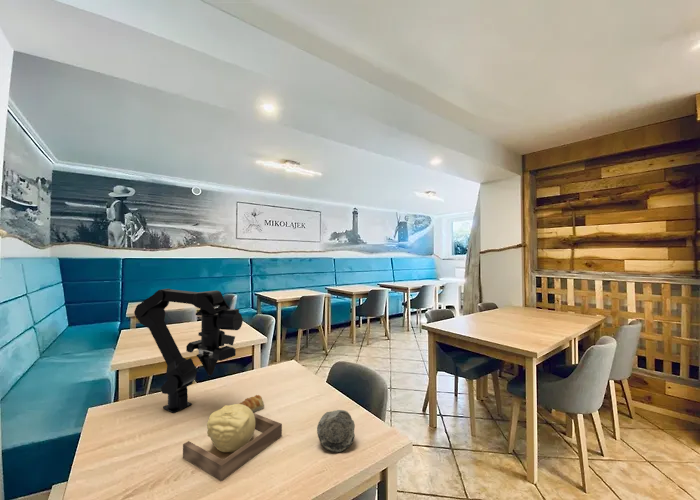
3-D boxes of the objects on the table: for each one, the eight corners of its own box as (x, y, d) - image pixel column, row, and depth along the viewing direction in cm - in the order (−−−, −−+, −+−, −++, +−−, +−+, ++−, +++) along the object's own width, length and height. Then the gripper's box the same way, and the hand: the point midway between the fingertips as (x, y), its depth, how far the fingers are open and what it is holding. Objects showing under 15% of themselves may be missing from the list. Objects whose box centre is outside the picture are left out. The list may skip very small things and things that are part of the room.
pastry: (239, 419, 96) (239, 407, 96) (230, 412, 100) (230, 400, 100) (265, 408, 102) (265, 397, 102) (255, 402, 107) (255, 391, 107)
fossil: (324, 458, 76) (318, 414, 81) (315, 455, 84) (309, 416, 88) (362, 445, 81) (354, 405, 85) (350, 444, 88) (343, 407, 93)
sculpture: (200, 456, 78) (200, 415, 78) (226, 430, 90) (226, 393, 90) (240, 461, 76) (241, 419, 76) (262, 433, 88) (262, 396, 88)
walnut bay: (182, 457, 77) (182, 444, 77) (245, 420, 94) (245, 409, 94) (221, 480, 69) (221, 465, 69) (281, 436, 87) (281, 423, 87)
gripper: (248, 327, 103) (248, 372, 103) (214, 320, 112) (214, 362, 112) (220, 334, 93) (220, 384, 93) (185, 327, 103) (185, 372, 103)
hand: (210, 375), depth 100 cm, fingers closed
